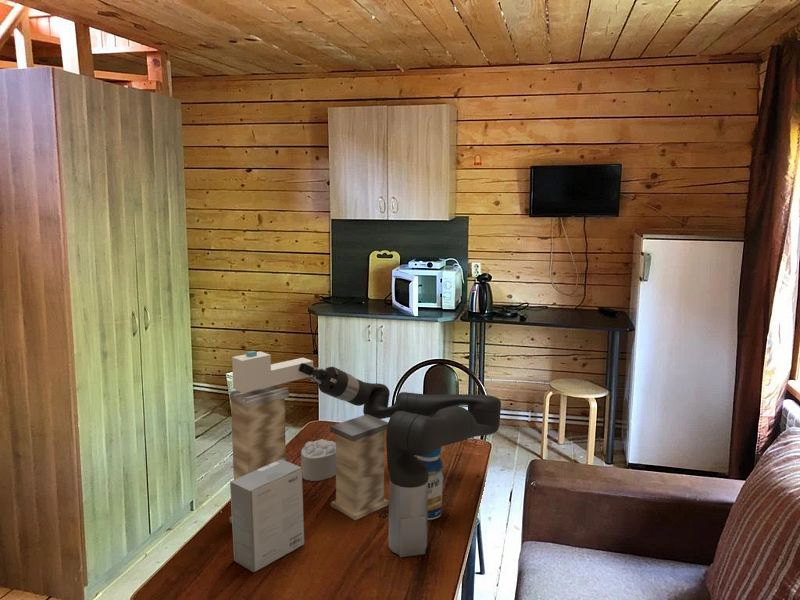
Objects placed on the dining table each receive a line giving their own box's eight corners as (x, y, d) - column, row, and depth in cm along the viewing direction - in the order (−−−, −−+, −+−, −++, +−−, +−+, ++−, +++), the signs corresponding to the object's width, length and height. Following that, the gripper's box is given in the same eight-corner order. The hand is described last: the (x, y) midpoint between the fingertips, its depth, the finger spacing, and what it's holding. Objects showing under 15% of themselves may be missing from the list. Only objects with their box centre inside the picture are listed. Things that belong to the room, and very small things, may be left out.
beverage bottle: (445, 507, 177) (447, 437, 173) (438, 523, 169) (440, 450, 165) (415, 503, 179) (416, 433, 175) (406, 518, 171) (408, 445, 167)
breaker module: (303, 372, 175) (302, 339, 174) (313, 375, 172) (313, 342, 171) (233, 388, 161) (231, 353, 159) (242, 393, 158) (241, 356, 156)
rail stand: (272, 504, 177) (269, 380, 171) (292, 516, 171) (290, 388, 165) (229, 521, 168) (224, 391, 162) (248, 535, 162) (244, 400, 156)
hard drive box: (284, 533, 163) (282, 458, 159) (305, 544, 158) (304, 467, 155) (232, 561, 151) (229, 480, 147) (253, 574, 146) (250, 490, 143)
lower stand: (365, 491, 185) (365, 413, 181) (390, 504, 178) (391, 423, 174) (329, 507, 176) (328, 425, 172) (353, 521, 169) (353, 436, 165)
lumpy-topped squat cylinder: (345, 466, 201) (345, 440, 199) (322, 484, 190) (322, 456, 188) (316, 460, 206) (316, 434, 204) (292, 476, 194) (292, 449, 192)
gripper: (350, 403, 176) (305, 384, 165) (317, 391, 186) (272, 372, 174) (361, 377, 178) (317, 356, 166) (328, 366, 188) (284, 345, 176)
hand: (294, 364), depth 170 cm, fingers closed on breaker module, 4 cm apart
